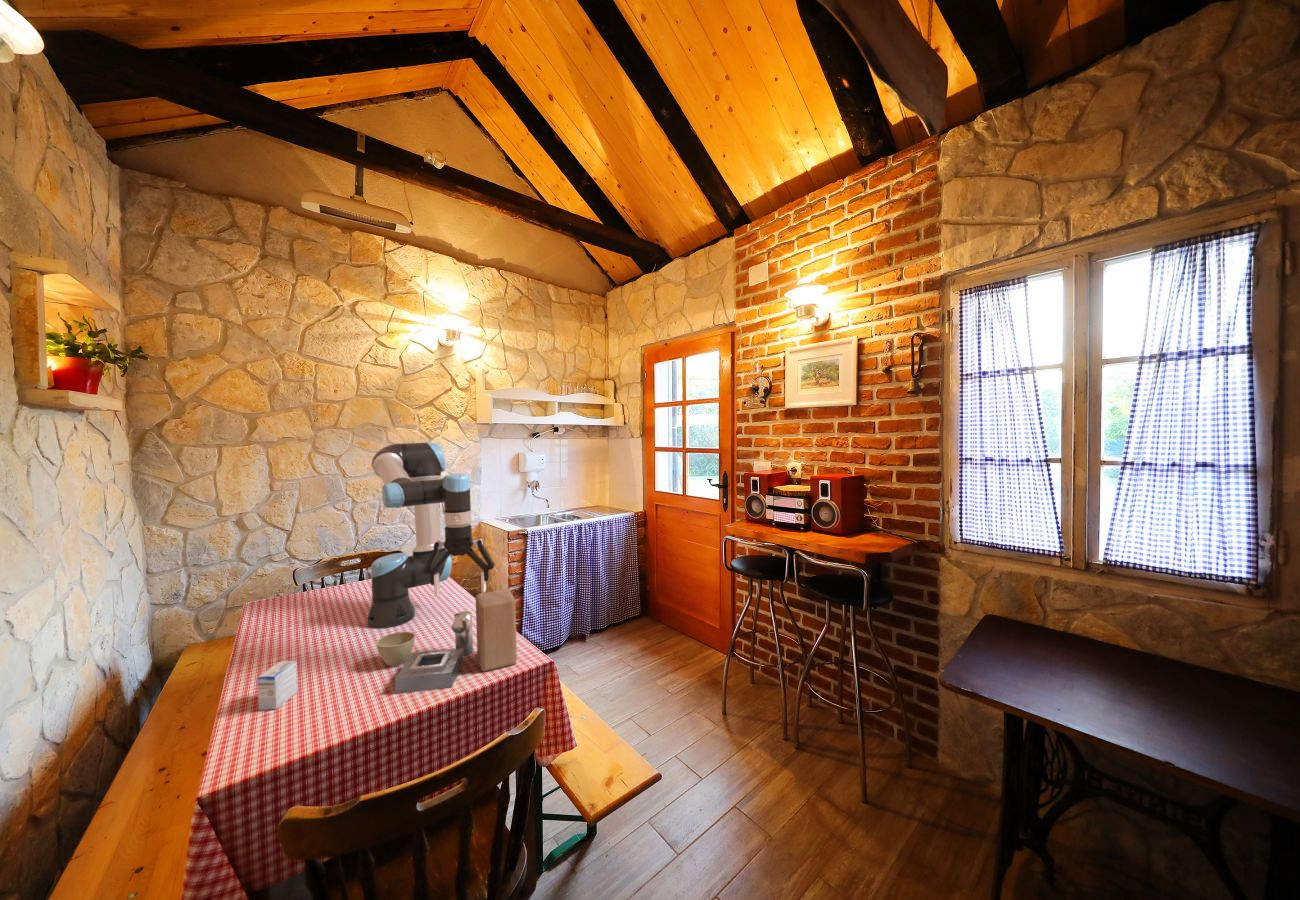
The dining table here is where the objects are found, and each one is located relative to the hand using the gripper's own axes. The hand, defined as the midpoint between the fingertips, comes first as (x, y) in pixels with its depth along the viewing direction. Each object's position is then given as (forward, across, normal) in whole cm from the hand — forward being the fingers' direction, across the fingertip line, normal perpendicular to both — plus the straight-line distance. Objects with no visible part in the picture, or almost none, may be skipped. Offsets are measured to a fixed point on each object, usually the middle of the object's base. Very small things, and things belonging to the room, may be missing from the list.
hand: (460, 593), depth 142 cm
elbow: (+19, 0, -1) cm, 19 cm away
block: (+19, +11, -8) cm, 23 cm away
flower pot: (+19, -18, -2) cm, 26 cm away
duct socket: (+19, -6, -13) cm, 23 cm away
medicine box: (+19, -41, -18) cm, 49 cm away
